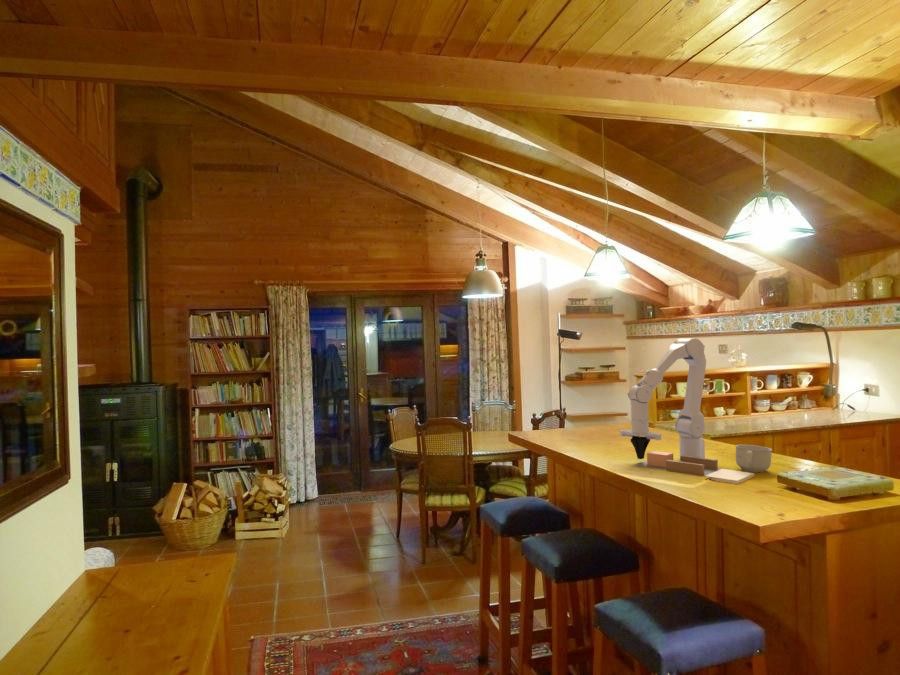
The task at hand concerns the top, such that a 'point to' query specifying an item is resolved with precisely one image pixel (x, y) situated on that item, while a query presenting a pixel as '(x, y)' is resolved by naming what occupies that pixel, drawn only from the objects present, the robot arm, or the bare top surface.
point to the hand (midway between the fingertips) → (640, 458)
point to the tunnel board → (701, 469)
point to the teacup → (753, 458)
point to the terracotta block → (658, 458)
